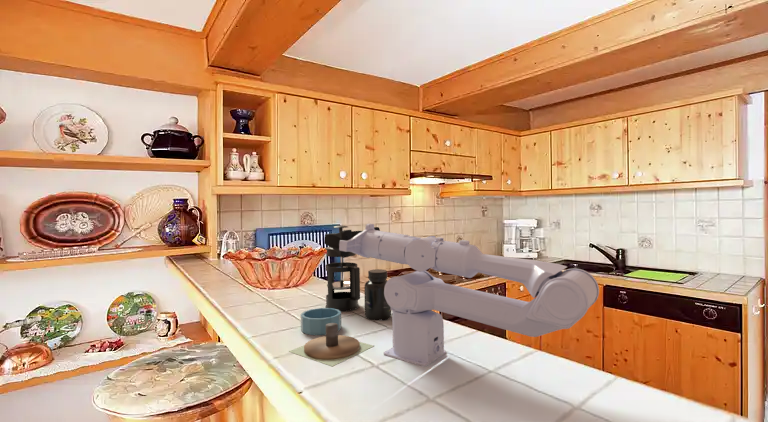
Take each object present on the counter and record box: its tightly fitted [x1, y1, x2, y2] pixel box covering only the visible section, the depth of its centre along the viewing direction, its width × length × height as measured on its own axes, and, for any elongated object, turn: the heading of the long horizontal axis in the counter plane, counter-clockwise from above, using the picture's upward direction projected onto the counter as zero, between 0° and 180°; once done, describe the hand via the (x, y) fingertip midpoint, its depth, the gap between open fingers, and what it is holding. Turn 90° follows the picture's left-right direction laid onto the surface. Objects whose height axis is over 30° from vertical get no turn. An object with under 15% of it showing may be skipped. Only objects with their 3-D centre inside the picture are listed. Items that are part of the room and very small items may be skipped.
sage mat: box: [288, 341, 375, 367], centre depth 78 cm, size 12×12×1 cm
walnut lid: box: [303, 323, 360, 360], centre depth 78 cm, size 11×11×5 cm
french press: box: [324, 225, 361, 313], centre depth 109 cm, size 12×9×23 cm
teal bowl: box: [300, 307, 342, 336], centre depth 90 cm, size 9×9×4 cm
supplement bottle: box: [364, 268, 392, 321], centre depth 99 cm, size 7×7×12 cm
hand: (338, 237), depth 86 cm, fingers open, 7 cm apart
